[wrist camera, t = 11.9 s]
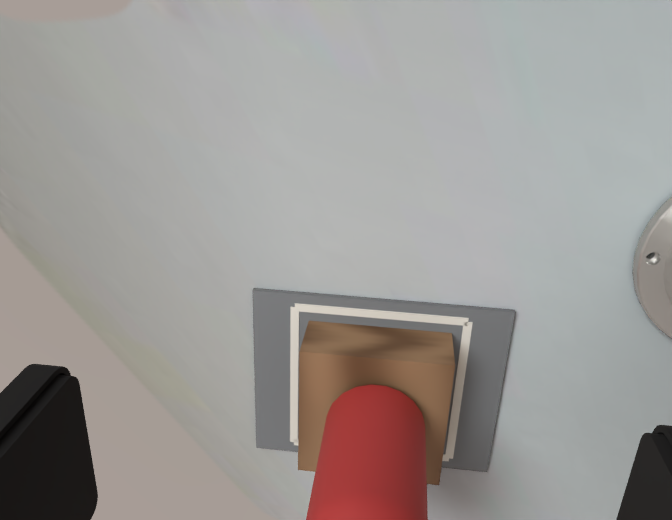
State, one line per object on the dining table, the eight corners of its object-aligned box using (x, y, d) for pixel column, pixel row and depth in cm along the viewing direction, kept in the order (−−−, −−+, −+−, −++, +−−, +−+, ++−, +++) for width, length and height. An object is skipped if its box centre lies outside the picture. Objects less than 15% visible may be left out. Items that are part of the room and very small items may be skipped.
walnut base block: (451, 332, 43) (455, 365, 40) (437, 446, 48) (439, 485, 44) (308, 320, 44) (299, 351, 41) (306, 432, 48) (298, 469, 45)
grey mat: (514, 309, 43) (515, 313, 42) (486, 468, 48) (487, 472, 48) (253, 288, 44) (252, 291, 44) (257, 444, 50) (256, 448, 50)
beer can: (392, 472, 44) (384, 636, 33) (310, 429, 43) (275, 582, 32) (444, 409, 41) (455, 565, 30) (358, 362, 40) (337, 505, 30)
